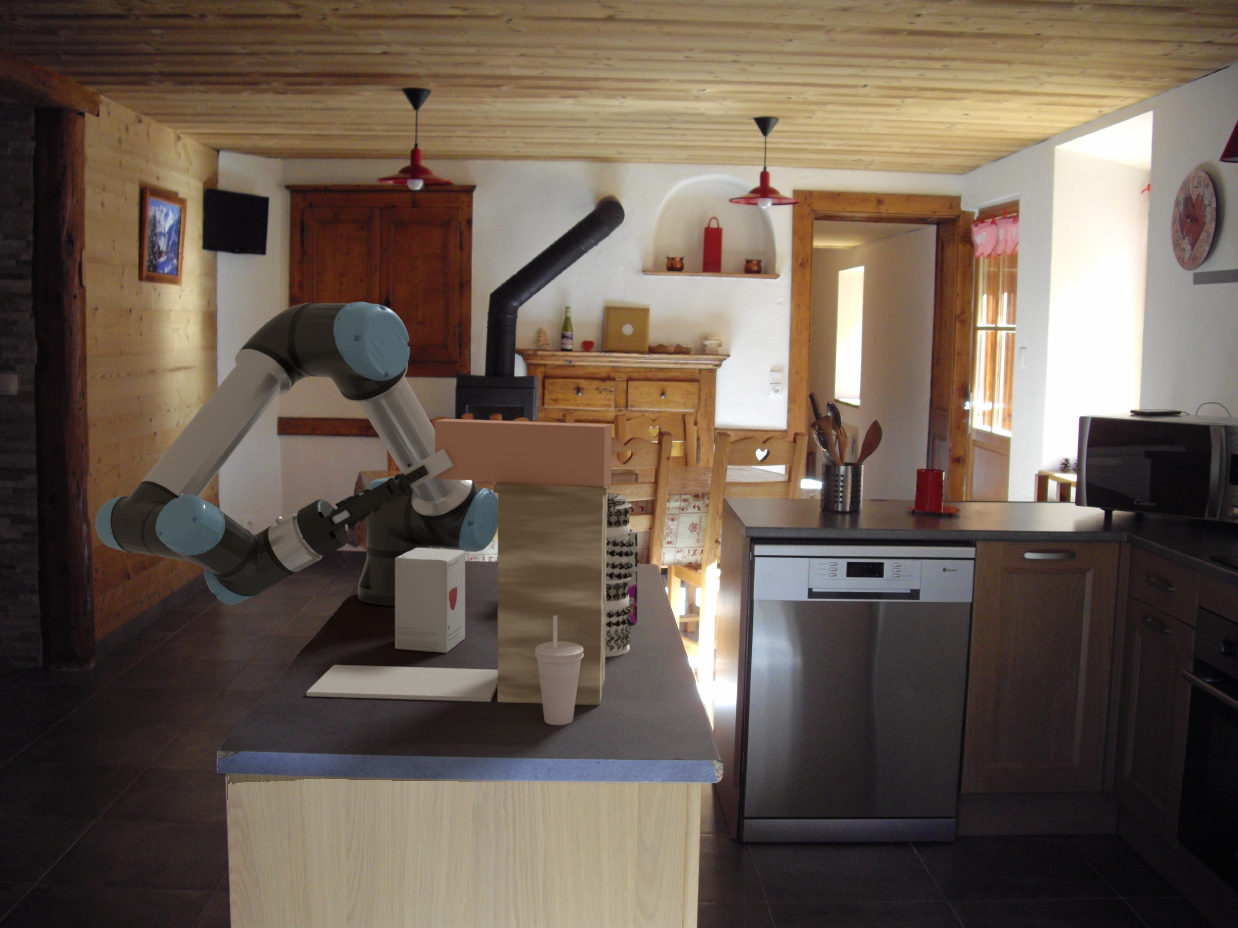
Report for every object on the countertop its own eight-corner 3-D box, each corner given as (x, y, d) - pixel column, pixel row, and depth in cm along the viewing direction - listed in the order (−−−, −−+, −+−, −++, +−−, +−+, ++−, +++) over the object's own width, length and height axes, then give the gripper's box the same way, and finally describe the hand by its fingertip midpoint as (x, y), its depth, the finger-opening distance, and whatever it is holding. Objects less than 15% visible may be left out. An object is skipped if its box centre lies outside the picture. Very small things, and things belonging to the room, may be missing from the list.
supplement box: (447, 654, 164) (446, 560, 162) (393, 649, 166) (392, 557, 164) (467, 638, 173) (466, 549, 171) (416, 634, 175) (415, 546, 173)
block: (446, 475, 148) (446, 418, 147) (611, 482, 143) (611, 424, 142) (435, 478, 144) (434, 420, 143) (603, 486, 139) (604, 426, 138)
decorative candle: (570, 641, 172) (572, 491, 169) (625, 639, 174) (628, 490, 171) (580, 658, 163) (581, 500, 160) (638, 655, 165) (640, 499, 162)
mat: (333, 668, 156) (333, 664, 156) (503, 673, 155) (503, 669, 155) (306, 695, 144) (306, 691, 144) (490, 701, 143) (490, 697, 143)
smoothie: (534, 711, 140) (534, 609, 138) (582, 710, 140) (583, 608, 139) (534, 729, 133) (534, 622, 132) (584, 728, 134) (585, 622, 132)
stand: (507, 672, 156) (508, 472, 152) (608, 675, 155) (611, 474, 151) (493, 702, 143) (493, 485, 139) (603, 706, 142) (606, 487, 138)
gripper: (273, 522, 139) (424, 437, 136) (317, 501, 156) (451, 426, 154) (302, 570, 139) (453, 487, 137) (342, 545, 157) (476, 470, 154)
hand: (451, 455), depth 145 cm, fingers closed on block, 4 cm apart
